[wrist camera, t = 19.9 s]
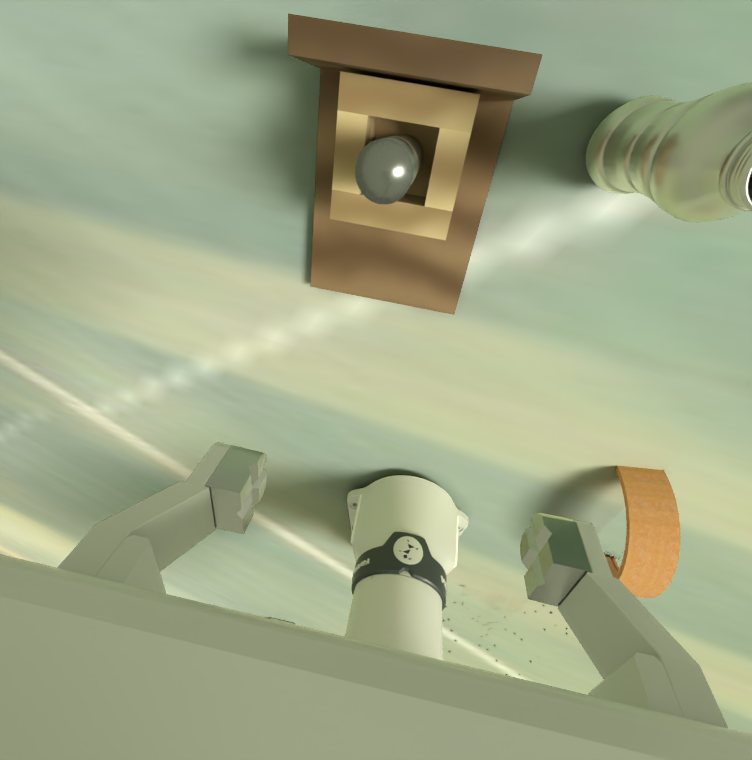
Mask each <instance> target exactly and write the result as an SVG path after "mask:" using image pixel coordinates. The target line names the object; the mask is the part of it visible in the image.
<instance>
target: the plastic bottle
mask: <svg viewBox="0 0 752 760" xmlns="http://www.w3.org/2000/svg"><path fill="white" fill-rule="evenodd" d="M586 166H587V171H588V173H589V175H590V177H591V178H592V180H593V181H594V183H595V184H596V185H597V186H598V187H600V188H601V189H603V190H605V191H608V192H611V193H625V194H626V193H641V194H643V195H645V196H647V197H649V198H650V199H651V200H652V201H653V202H655V203H656V204H657V205H658V206H659V207H660V208H661V209H662V210H664V211H665V212H667V213H668V214H670V215H672V216H674V217H675V218H678V219H681V220H684V221H689V222H706V221H715V220H721V219H725V218H729V217H733V216H735V215H738V214H740V213H743V212H745V211H752V82H751V83H745V84H741V85H737V86H733V87H730V88H727V89H724V90H721V91H718V92H716V93H713V94H711V95H708V96H705V97H703V98H700V99H698V100H694V101H689V102H684V103H682V102H676V101H675V100H672V99H669V98H665V97H661V96H644V97H640V98H637V99H634V100H631V101H629V102H627V103H626V104H624V105H622V106H620V107H619V108H617V109H616V110H614V111H613V112H612V113H610V114H609V115H608V116H607V117H606V118H605V119H604V120H603V121H602V122H601V123H600V124H599V126H598V127H597V128H596V130H595V131H594V133H593V135H592V137H591V139H590V141H589V144H588V147H587V152H586Z"/></svg>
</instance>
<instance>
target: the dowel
mask: <svg viewBox="0 0 752 760" xmlns="http://www.w3.org/2000/svg"><path fill="white" fill-rule="evenodd" d="M423 159H424V154H423V149H422V146H421V144H420V143H419V141H418V140H417V139H416V138H415V137H413V136H411V135H409V134H398V135H394V136H390V137H386V138H382V139H378V140H375V141H372V142H370V143H369V144H368V145H366V146H365V147H364V148H363V150H362V151H361V152H360V154H359V156H358V158H357V161H356V166H355V177H356V182H357V185H358V187H359V189H360V191H361V192H362V194H363V195H364V196H365V197H366V198H367V199H369V200H370V201H372V202H374V203H377V204H382V205H385V204H391V203H394V202H396V201H398V200H399V199H401V198H402V197H403V196H404V195H405V194H406V192H407V191H408V189H409V188H410V186H411V184H412V183H413V181H414V179H415V178H416V176H417V175H418V173H419V171H420V169H421V167H422V165H423Z"/></svg>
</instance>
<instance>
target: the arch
mask: <svg viewBox="0 0 752 760" xmlns="http://www.w3.org/2000/svg"><path fill="white" fill-rule="evenodd" d="M617 468H618V469H616V472H617V474H618V477H619V480H620V483H621V486H622V490H623V495H624V500H625V507H626V519H627V536H626V545H625V551H624V556H623V560H622V563H621V566H620V569H619V567H618V565H617V563H616V560H615V558H614V557H613V556H611V557H610V556H608V555H605V557H606V560H607V563H608V565H609V568H610V571H611V574H612V576H613V578H616V579H619V580H620V581H621V582H622V583H623V584H624V585H625V587H626V588H627V589H628V590H629V591H630V592H631V593H632V594H633V595H634V596H636V597H643V598H654V597H656V596H658V595H660V594H661V593H662V592H664V591H665V590H666V589H667V587H668V586H669V584H670V583H671V581H672V579H673V576H674V574H675V571H676V567H677V563H678V559H679V551H680V522H679V513H678V509H677V504H676V499H675V496H674V493H673V490H672V487H671V484H670V482H669V480H668V478H667V475H666V474H665V472H664V471H663V470H654V469H644V468H634V467H624V466H617Z"/></svg>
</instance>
